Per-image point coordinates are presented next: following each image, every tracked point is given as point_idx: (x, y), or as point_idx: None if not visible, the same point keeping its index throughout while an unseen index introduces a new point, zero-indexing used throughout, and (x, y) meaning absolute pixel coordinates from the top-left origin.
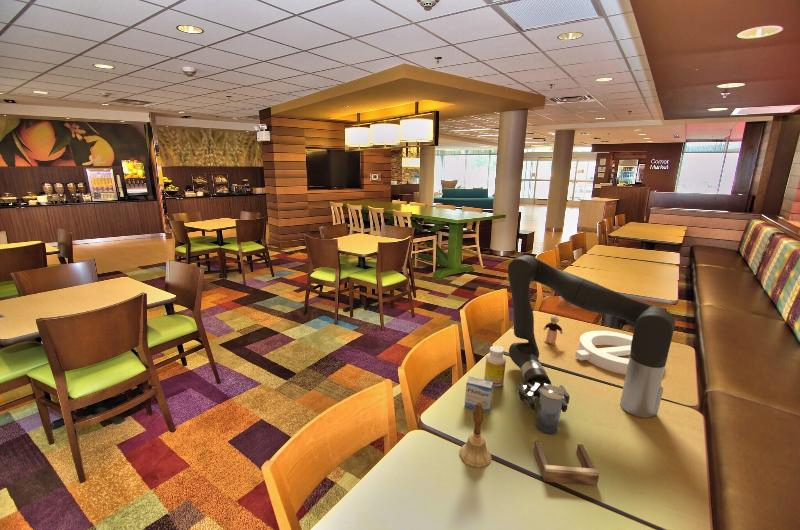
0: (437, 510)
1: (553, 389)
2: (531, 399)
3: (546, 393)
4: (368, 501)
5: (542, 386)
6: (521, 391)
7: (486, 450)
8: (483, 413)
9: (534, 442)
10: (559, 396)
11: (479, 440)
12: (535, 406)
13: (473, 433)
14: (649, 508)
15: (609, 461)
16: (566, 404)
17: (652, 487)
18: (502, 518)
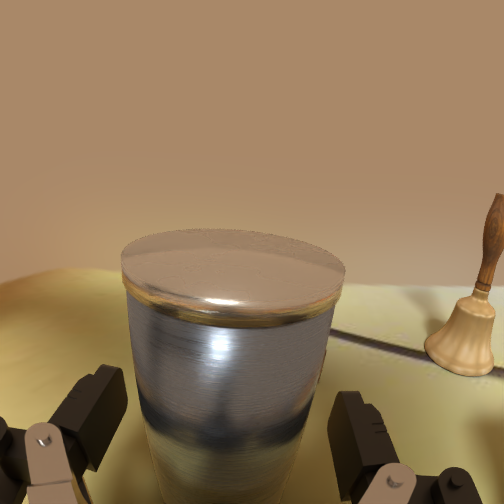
0: (451, 293)
1: (205, 260)
2: (372, 429)
3: (297, 246)
4: None
5: (322, 285)
6: (469, 493)
7: (445, 330)
8: (487, 217)
9: (324, 356)
10: (201, 232)
11: (468, 296)
12: (335, 400)
13: (491, 310)
14: (118, 281)
15: (88, 340)
16: (79, 386)
17: (69, 296)
18: (373, 288)
